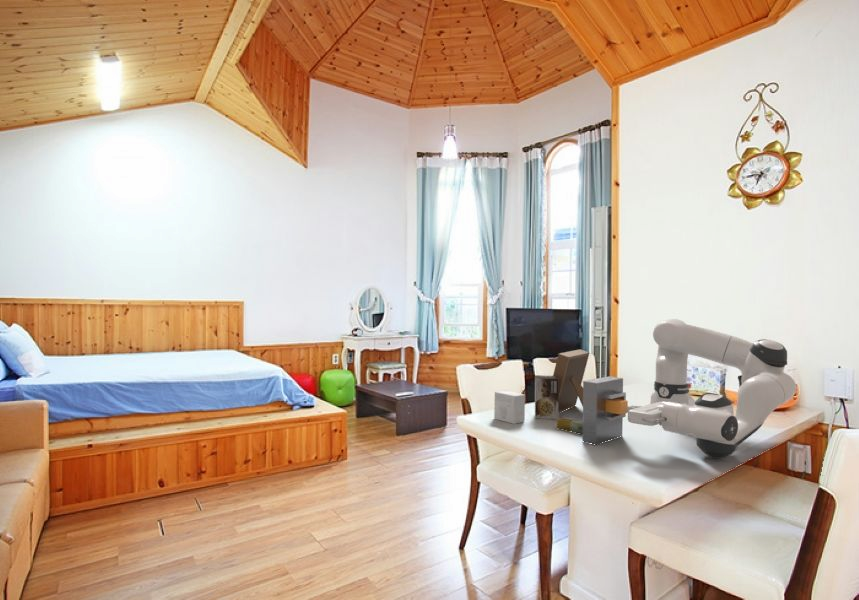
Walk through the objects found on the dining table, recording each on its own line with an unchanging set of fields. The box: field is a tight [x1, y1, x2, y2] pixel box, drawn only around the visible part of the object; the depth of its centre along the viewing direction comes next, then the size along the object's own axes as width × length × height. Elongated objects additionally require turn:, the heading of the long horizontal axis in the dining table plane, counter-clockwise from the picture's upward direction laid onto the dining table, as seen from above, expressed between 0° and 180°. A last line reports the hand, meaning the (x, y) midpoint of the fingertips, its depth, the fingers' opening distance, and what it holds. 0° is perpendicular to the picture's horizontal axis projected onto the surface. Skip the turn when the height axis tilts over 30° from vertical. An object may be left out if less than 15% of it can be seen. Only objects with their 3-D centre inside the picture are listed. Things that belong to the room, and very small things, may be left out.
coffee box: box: [534, 374, 560, 420], centre depth 191 cm, size 9×6×16 cm
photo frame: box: [552, 349, 590, 414], centre depth 200 cm, size 15×22×25 cm
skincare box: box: [493, 390, 526, 425], centre depth 186 cm, size 10×6×10 cm, turn 39°
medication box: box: [556, 417, 583, 435], centre depth 172 cm, size 12×3×4 cm, turn 42°
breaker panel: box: [582, 375, 627, 446], centre depth 161 cm, size 16×8×20 cm, turn 129°
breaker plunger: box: [605, 398, 629, 415], centre depth 160 cm, size 4×10×4 cm, turn 39°
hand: (629, 408), depth 155 cm, fingers closed
